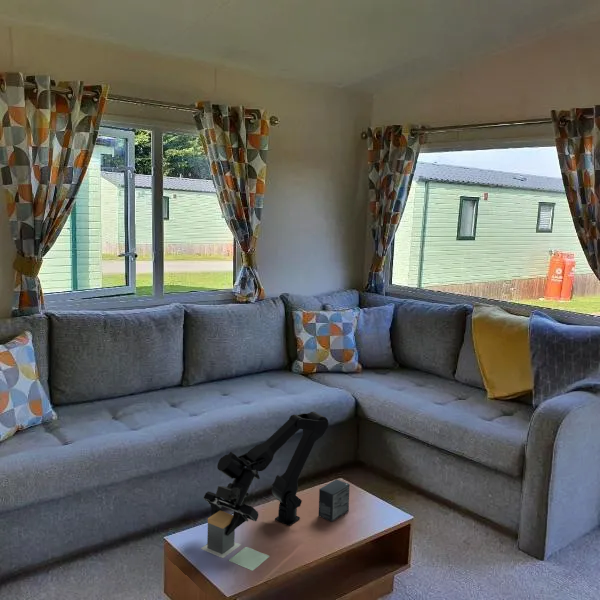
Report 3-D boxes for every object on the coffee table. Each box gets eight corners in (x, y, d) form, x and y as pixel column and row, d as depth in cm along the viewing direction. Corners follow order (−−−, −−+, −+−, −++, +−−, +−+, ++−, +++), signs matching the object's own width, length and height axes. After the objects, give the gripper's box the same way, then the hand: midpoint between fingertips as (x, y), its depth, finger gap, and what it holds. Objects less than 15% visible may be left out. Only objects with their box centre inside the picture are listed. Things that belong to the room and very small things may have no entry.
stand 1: (218, 538, 191) (218, 535, 191) (240, 547, 186) (241, 544, 186) (200, 551, 183) (200, 548, 183) (223, 561, 179) (223, 558, 179)
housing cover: (219, 519, 188) (220, 510, 187) (234, 525, 185) (235, 515, 184) (207, 527, 183) (207, 518, 182) (222, 533, 180) (223, 524, 179)
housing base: (219, 539, 189) (219, 514, 188) (234, 545, 186) (234, 520, 185) (207, 548, 184) (207, 522, 183) (222, 554, 181) (222, 528, 179)
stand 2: (246, 549, 185) (246, 546, 185) (269, 559, 181) (269, 556, 181) (228, 563, 178) (228, 560, 178) (252, 573, 173) (252, 570, 173)
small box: (334, 505, 216) (336, 478, 214) (349, 511, 212) (350, 484, 210) (317, 515, 208) (318, 488, 206) (332, 522, 204) (333, 494, 202)
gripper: (207, 467, 190) (183, 513, 182) (254, 483, 180) (231, 532, 172) (222, 481, 197) (199, 526, 190) (267, 497, 188) (246, 545, 180)
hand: (218, 532), depth 183 cm, fingers closed on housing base, 6 cm apart
